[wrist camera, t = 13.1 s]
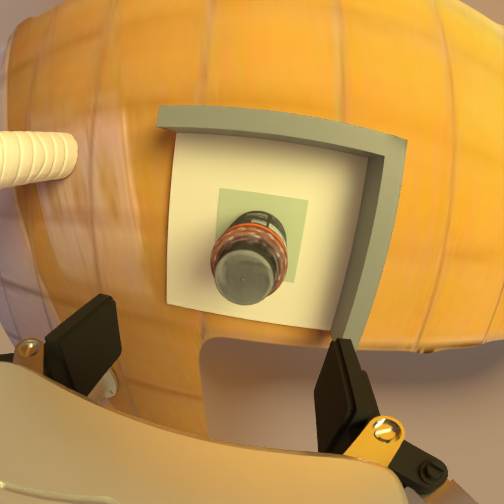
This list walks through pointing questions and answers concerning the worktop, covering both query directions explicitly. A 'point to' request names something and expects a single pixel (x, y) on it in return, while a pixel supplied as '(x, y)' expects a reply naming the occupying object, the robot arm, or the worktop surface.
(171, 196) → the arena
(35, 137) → the water bottle
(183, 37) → the worktop surface
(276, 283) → the supplement bottle
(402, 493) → the robot arm
